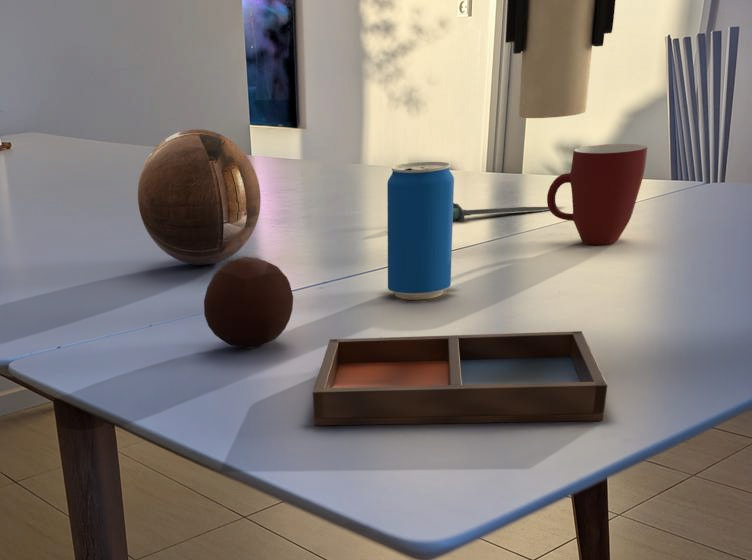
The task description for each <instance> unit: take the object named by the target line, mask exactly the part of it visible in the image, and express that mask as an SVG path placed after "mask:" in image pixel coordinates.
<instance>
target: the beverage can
mask: <svg viewBox="0 0 752 560" xmlns="http://www.w3.org/2000/svg"><path fill="white" fill-rule="evenodd" d="M450 168H451V164H450V163H449V162H445V161H444V162H443V161H420V162H419V161H418V162H409V163H403V164H398V165H394V166H392V167H391V171H392V173H391V175H390V176H389V177H388V180H387V183H386V184H387V187H386V188H387V189H386V190H387V191H386V193H387V194H386V195H387V202H386V203H387V289H388V290H389V291H390V292H392V293H393V294H394V296H395V297H396V298H398V299H403V300H410V301H411V300H412V301H413V300H415V301H418V300H428V299H434V298H438V297H440V296H442V295H443V294H444V292H445V291H446V290H447V289H449V288H450V287H451V282H452V257H453V256H452V253H453V227H454V226H453V225H454V224H453V223H454V219H453V203H454V193H455V192H454V191H455V177H454V175H453V173H452V172H451V170H450Z"/></svg>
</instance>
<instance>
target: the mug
mask: <svg viewBox="0 0 752 560" xmlns="http://www.w3.org/2000/svg"><path fill="white" fill-rule="evenodd" d="M647 154H648V146H647V145H644V144H639V143H636V144H635V143H612V144H611V143H610V144H597V145H587V146H581V147H577V148H575V149H573V153H572V159H571V167H570V172H567V173H566V172H565V173H563V174H560V175H558V176H557V177H556V178H554V180H553V181H552V183H551V184H550V186H549V188H548V191H547V196H546V204H547V207H548V208H549V210H548V211H549V212H550V213H551V214H552V215H553V216H554V217H556V218H557V219H560V220H564V221H570V222H571V221H572V222H573V224H574V225H575V228H576V230H577V233H578V235H579V237H580V240H581V242H582V243H583V244H585V245H592V246H605V245H610V244H612V245H613V244H615V243H617V242H618V240H619V239H620V237H621V236H622V234H623V232H624V231H625V229H626V228H627V226H628V224H629V223H630V220H631V218H632V215H633V212H634V209H635V206H636V202H637V199H638V195H639V192H640V188H641V186H642V182H643V179H644V176H645V175H644V174H645V170H646V163H647V156H648V155H647ZM564 184H570V188H571V199H572V200H571V201H572V213H569V212H564V211H562V210H560V209H559V207H558V206H557V203H556V196H557V192H558V190H559V188H560V187H561V186H562V185H564ZM557 207H558V208H557Z"/></svg>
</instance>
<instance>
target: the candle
mask: <svg viewBox="0 0 752 560" xmlns="http://www.w3.org/2000/svg"><path fill="white" fill-rule="evenodd" d="M595 9H596V0H527V3H526V20H525V36H524V51H521V56H522V57H521V70H520V71H521V72H520V87H519V107H518V114H519V115H518V116H519V117H520V118H521V119H522V118H523V119H548V118H551V119H552V118H562V117H563V118H564V117H571V116H576V115H581V114H584V113H586V110H587V104H588V96H589V95H588V94H589V85H590V84H589V83H590V74H591V61H592V52H593V46H592V42H593V31H594V20H595Z"/></svg>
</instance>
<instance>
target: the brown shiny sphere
mask: <svg viewBox="0 0 752 560" xmlns="http://www.w3.org/2000/svg"><path fill="white" fill-rule="evenodd" d="M137 186H138V187H137V203H138V209H139V214H140V217H141V221H142V224H143V225H144V228H145V230H146V232H147V233H148V235H149V237H150V238H151V239H152V241H153V242H154V244H156V246H157V247H159V248H160V250H162V251H163V252H164V253H165V254H167V255H168V256H170V257H172V258H173V259H175V260H177V261H179V262H181V263H185V264H189V265H194V266H195V265H196V266H209V265H214V264H217V263H220V262H223V261H225V260H227V259H229V258H231V257H233V256H234V255H236V253H238V252H239V251H240V250H242V248H243V247H244V246H245V245H246V244H247V242H248V241H249V240H250V238H251V236H252V234H253V233H254V231H255V229H256V226H257V223H258V220H259V216H260V212H261V199H262V197H261V187H260V183H259V179H258V175H257V173H256V170H255V167H254V165H253V163H252V162H251V160H250V159H249V157H248V156H247V155H246V153H245V152H244V151H243V150H242V148H241V147H240V146H239V145H237V144H236V143H235V142H234V141H232V140H231V138H228V137H226V136H225V135H223V134H221V133H218V132H215V131H213V130H208V129H199V128H198V129H197V128H196V129H186V130H183V131H182V130H181V131H179V132H176V133H173V134H172V135H170V136H169V137H166V138H165V139H164V140H162V141H161V142H160V143H159V144H158V145H156V147H155V148H154V149H153V150H152V151H151V152H150V154H149V156H148V157H147V159H146V161H145V163H144V164H143V167H142V169H141V172H140V176H139V180H138V185H137Z"/></svg>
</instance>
